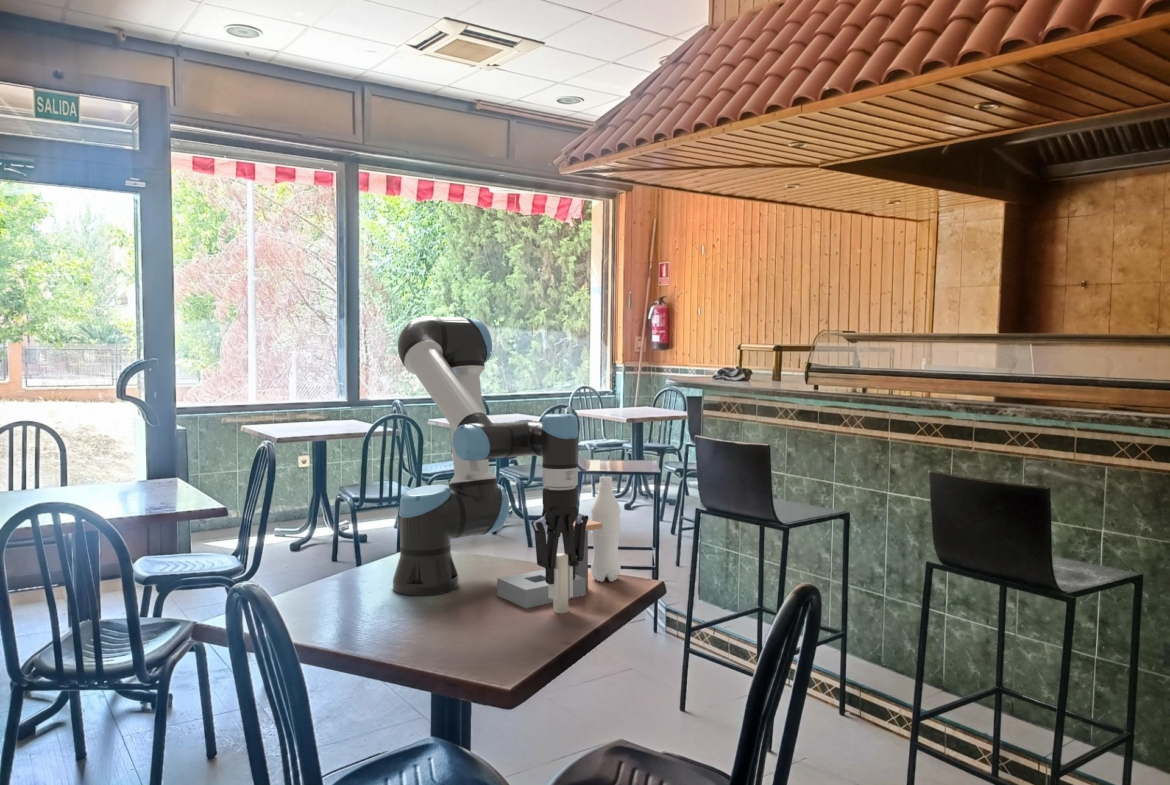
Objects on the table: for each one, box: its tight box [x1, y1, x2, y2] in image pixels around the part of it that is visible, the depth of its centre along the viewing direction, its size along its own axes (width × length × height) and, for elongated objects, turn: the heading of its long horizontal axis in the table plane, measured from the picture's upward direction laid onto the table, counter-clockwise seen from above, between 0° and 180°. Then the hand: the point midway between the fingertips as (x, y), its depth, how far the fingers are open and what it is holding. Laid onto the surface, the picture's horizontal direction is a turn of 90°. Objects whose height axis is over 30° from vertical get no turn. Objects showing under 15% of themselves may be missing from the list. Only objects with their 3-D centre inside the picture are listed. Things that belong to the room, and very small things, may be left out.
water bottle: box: [590, 475, 622, 583], centre depth 197 cm, size 7×7×25 cm
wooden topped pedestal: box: [573, 519, 602, 589], centre depth 188 cm, size 14×7×16 cm, turn 36°
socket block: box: [496, 568, 587, 609], centre depth 184 cm, size 12×16×4 cm
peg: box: [552, 552, 569, 614], centre depth 172 cm, size 3×3×12 cm
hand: (560, 596), depth 172 cm, fingers closed on peg, 3 cm apart
